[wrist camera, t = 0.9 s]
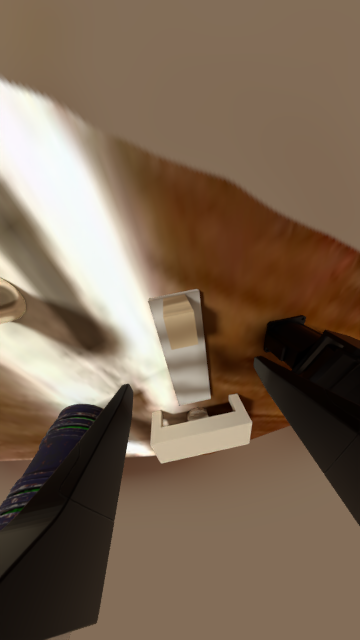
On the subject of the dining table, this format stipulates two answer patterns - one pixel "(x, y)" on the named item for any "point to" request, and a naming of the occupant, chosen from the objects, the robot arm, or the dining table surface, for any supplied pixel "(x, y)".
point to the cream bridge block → (201, 433)
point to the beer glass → (10, 303)
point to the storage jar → (49, 456)
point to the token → (197, 414)
